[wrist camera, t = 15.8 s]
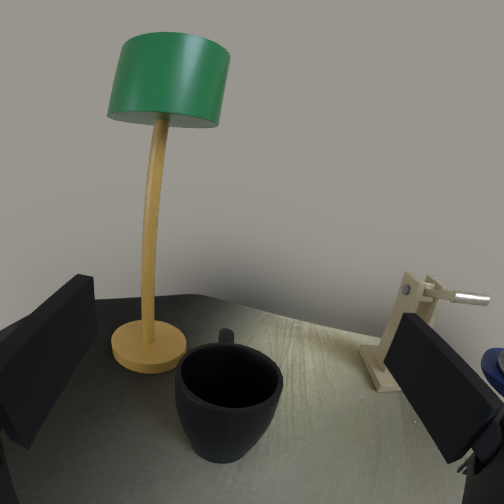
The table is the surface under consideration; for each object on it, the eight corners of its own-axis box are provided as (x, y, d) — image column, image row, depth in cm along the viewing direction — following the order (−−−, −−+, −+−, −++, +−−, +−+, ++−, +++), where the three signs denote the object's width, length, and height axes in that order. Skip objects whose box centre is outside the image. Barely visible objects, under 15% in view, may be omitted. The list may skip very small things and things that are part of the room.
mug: (256, 391, 31) (272, 324, 28) (265, 477, 20) (291, 414, 17) (186, 384, 30) (189, 315, 28) (171, 469, 19) (166, 403, 16)
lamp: (202, 377, 32) (246, 44, 22) (102, 379, 28) (118, 27, 17) (185, 324, 43) (215, 74, 32) (108, 324, 38) (125, 64, 28)
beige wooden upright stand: (423, 389, 32) (466, 297, 28) (377, 392, 32) (420, 291, 28) (399, 352, 42) (430, 270, 38) (358, 350, 42) (387, 262, 38)
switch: (488, 311, 23) (491, 289, 23) (453, 309, 23) (457, 284, 23) (431, 301, 35) (433, 284, 35) (398, 297, 35) (400, 279, 35)
